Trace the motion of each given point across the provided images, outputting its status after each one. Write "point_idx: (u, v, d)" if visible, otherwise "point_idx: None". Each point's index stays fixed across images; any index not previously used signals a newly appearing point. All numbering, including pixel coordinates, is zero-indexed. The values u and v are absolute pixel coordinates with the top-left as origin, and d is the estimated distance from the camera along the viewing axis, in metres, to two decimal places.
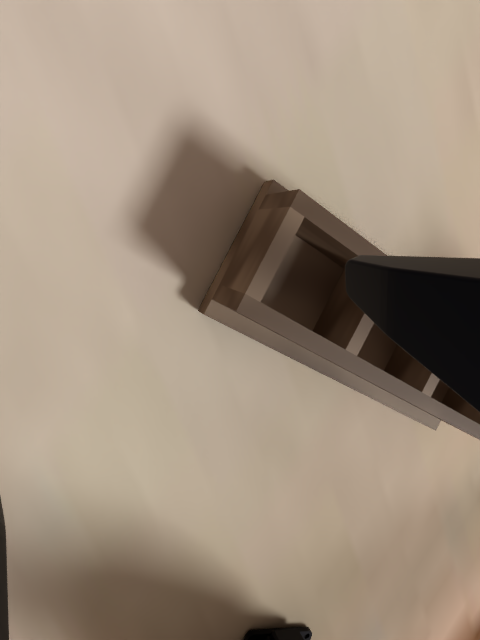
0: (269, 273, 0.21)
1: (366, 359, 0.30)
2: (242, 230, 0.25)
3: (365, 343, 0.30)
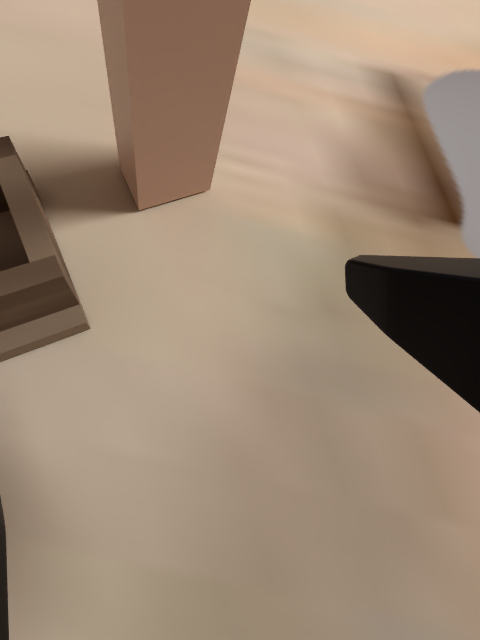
0: None
1: None
2: None
3: None
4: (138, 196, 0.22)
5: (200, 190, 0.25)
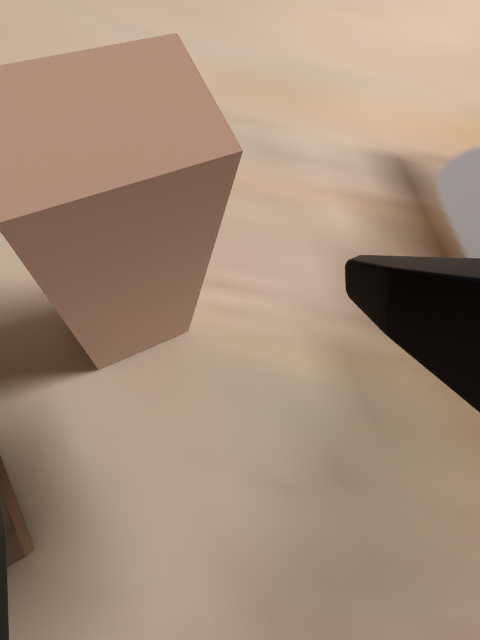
0: None
1: None
2: None
3: None
4: (95, 363, 0.17)
5: (176, 333, 0.20)
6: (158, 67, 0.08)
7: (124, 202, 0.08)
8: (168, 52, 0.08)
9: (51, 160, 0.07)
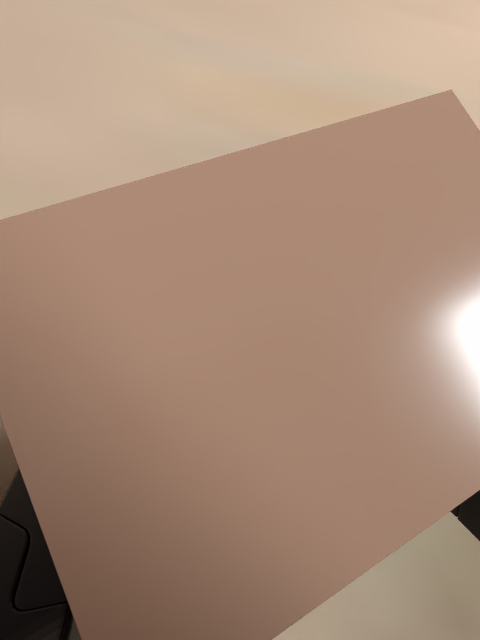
0: None
1: None
2: None
3: None
4: None
5: None
6: (435, 172, 0.04)
7: None
8: (446, 134, 0.04)
9: (252, 469, 0.03)
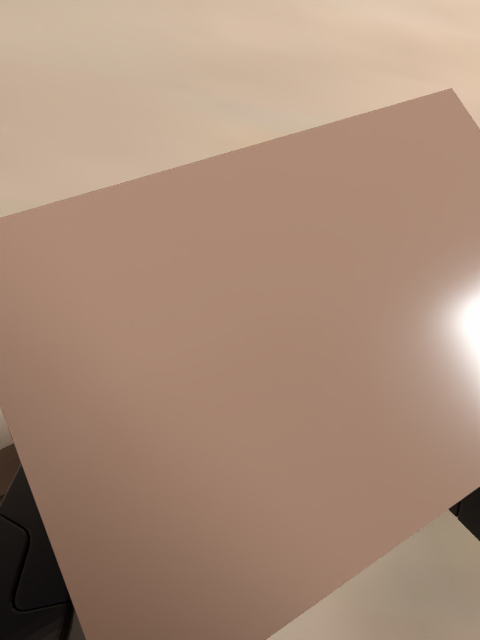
0: None
1: None
2: None
3: None
4: None
5: None
6: (436, 170, 0.04)
7: None
8: (446, 132, 0.04)
9: (254, 466, 0.03)
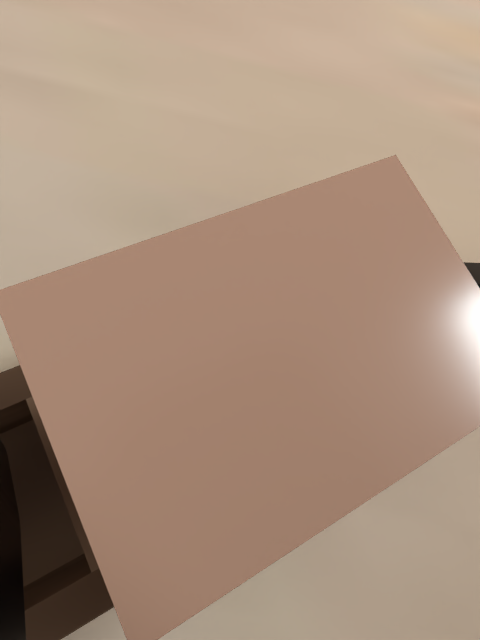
0: None
1: None
2: None
3: None
4: None
5: None
6: (379, 226, 0.04)
7: None
8: (389, 193, 0.05)
9: (226, 463, 0.03)
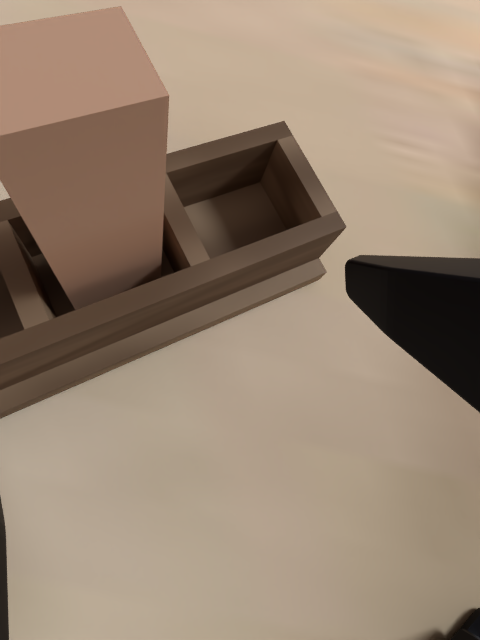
0: None
1: None
2: None
3: None
4: (75, 307, 0.20)
5: None
6: (105, 32, 0.10)
7: (77, 133, 0.10)
8: (113, 20, 0.11)
9: (20, 98, 0.09)
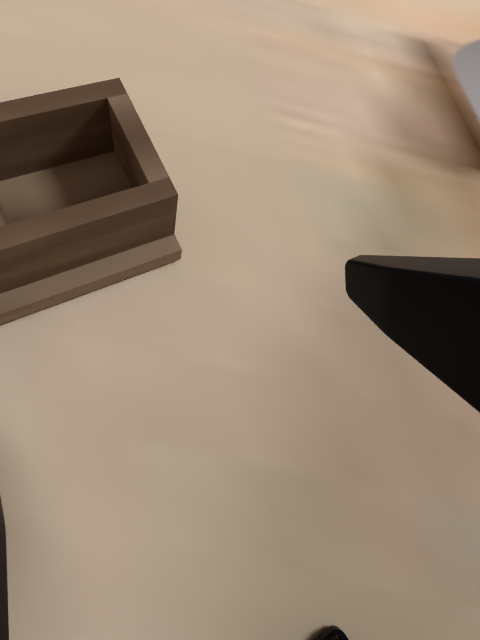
0: None
1: None
2: None
3: None
4: None
5: None
6: None
7: None
8: None
9: None
